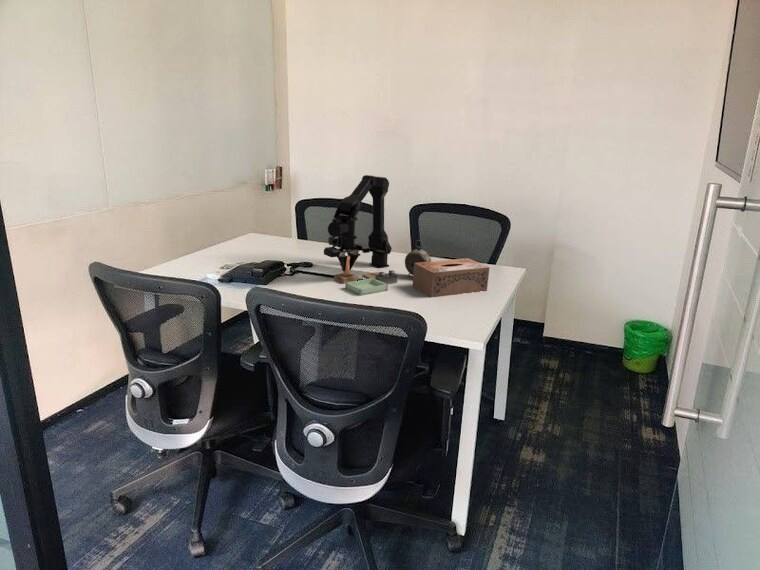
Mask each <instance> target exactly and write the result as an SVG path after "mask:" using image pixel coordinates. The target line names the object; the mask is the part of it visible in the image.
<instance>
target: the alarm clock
mask: <svg viewBox="0 0 760 570" xmlns="http://www.w3.org/2000/svg"><path fill="white" fill-rule="evenodd" d="M418 242H420V243H421V246H417V243H418ZM423 245H424V244H423V241H422V240H420V239H418V240H416V241H415V247H416V249H414V250H412V251H410V252H408V253H407V254H406V256H405V258H404V267H405V269H406V270H407V272H408V274H407V275H408V276H410V275H412V276H413V273H414V263H419V262H431V261H432V259H431V256H430V254H429V253H428V252H427V251H426V250H424V249H421V248H422V247H423Z"/></svg>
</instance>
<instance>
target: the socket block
mask: <svg viewBox="0 0 760 570" xmlns="http://www.w3.org/2000/svg"><path fill="white" fill-rule="evenodd" d="M333 276H334V277H333V278H334V280H335V281H337V282H339V283H342V284H343V285H344V284H345V283H346V282H352V281H357V280H359V276H358V275H355V274H353V273H351V272H349V277H343V272H342V273H337V274H336V273H335V274H333Z"/></svg>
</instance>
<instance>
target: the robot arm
mask: <svg viewBox="0 0 760 570" xmlns="http://www.w3.org/2000/svg"><path fill="white" fill-rule="evenodd" d="M389 186H390V182H389V180H388V178H387V177H385V176H384V177H383V176H376V175H375V176H374V175H368V174H365V175H362V177H361V181H360V182H359V183H358V185H356V187H355V189H354V190H353V191H352V193H350V195H349V196H345V197H344V198H343V199H341V200H340V202H339V203H338V205H337V207H336V210H335V213H334V215H333V218H332V220H331V221H332V222H329V225H328V226H327V232H328V234H329V235H330V237H329V236H328V240H327V243H328V245H329V246H328V247H326V246H325V247H324V249H323V255H325V256H327V257H330V258H337V259H338V261H339V264H340V268H341V270H342V272H343V271H345V269H346V262H347V256H350V270H349V272H350V271H351V270H352V268H353V266H354V265H355V263H356V261H357V259H358V258H359V257H360V256H361V253H363V254H367V253H370V252H371V253H372V255H371V262H370V263H369V265H370V266H373V267H375V268H385V267H389V266H390V264H388V255H389V254H391V252H392V245H391V244H390V242H389V238H388V237H389V235H388V234H387V232H386V231H385V196H386V195H387V193H388V192H389ZM368 193H369V194H370V196H371V198H372V231H371V233H370V234H369V235H368V237H367V239H368V243H367V244H366V243H362V242H361V243H355V241H356V239H357V235H356V221H358V217H357V215H358V214H359V212H360V210H361V204H362V201H363V200H364V198H365V197H366V196H367V194H368ZM336 247H337V248H336ZM360 251H361V253H360ZM346 253H347V255H346Z"/></svg>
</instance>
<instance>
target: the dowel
mask: <svg viewBox="0 0 760 570" xmlns="http://www.w3.org/2000/svg"><path fill="white" fill-rule="evenodd" d="M346 256H347V262H346V269H345V271H342V273H343V277H349V273H350V271H351V270H350V256H348V255H346ZM349 270H350V271H349Z"/></svg>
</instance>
